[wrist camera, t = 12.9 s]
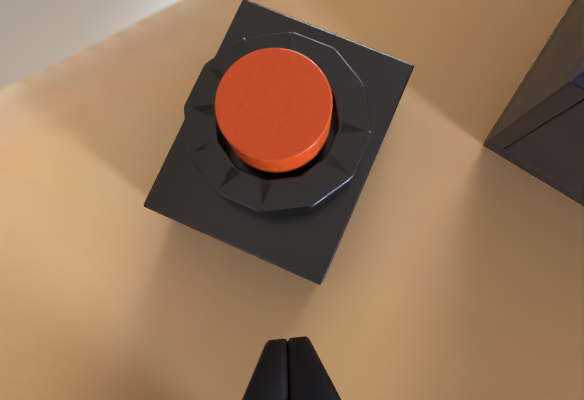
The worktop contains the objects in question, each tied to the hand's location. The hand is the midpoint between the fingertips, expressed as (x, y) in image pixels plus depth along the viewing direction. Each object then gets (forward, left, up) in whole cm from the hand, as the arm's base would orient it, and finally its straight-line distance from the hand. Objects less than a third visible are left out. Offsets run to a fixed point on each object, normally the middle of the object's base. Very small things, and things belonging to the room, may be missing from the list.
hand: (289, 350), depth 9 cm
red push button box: (+6, +4, -13) cm, 15 cm away
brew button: (+6, +4, -7) cm, 10 cm away
